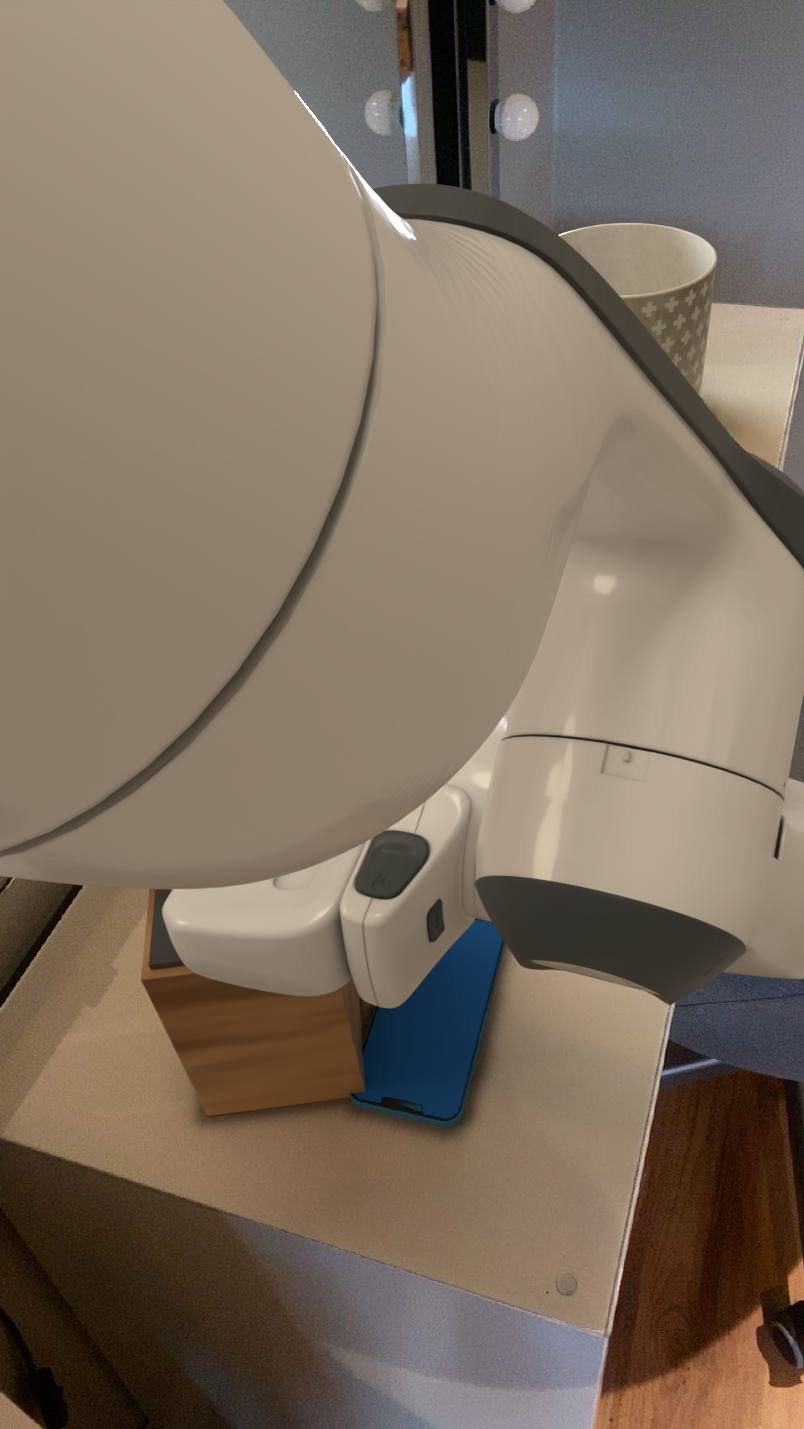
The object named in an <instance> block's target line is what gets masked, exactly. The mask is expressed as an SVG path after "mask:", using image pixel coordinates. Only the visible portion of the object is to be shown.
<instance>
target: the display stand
mask: <svg viewBox="0 0 804 1429" xmlns="http://www.w3.org/2000/svg"><path fill="white" fill-rule="evenodd" d="M172 890H173V889H148V899H147V910H146V911H147V912H146V922H145V931H144V940H143V941H144V942H143V950H142V963H141V974H140V982H141V983H142V985H143V987H144V990H145V991H146V994H147V995H148V997H149V999H150V1002H151V1004H152V1006H153V1007H154V1010H155V1012H156V1014H157V1016H158V1018H159V1020H160V1022H161V1024H162V1026H163V1028H164V1030H165V1033H166V1034H167V1037H168V1038H169V1040H170V1043H171V1045H172V1047H173V1049H174V1051H175V1053H176V1055H177V1057H178V1059H179V1061H180V1063H181V1065H182V1067H183V1069H184V1071H185V1073H186V1075H187V1077H188V1079H189V1082H190V1084H191V1085H192V1088H193V1090H194V1092H195V1094H196V1096H197V1098H198V1100H199V1102H200V1104H201V1106H202V1109H203V1110H204V1112H205V1115H206V1116H207V1117H210V1116H211V1117H212V1116H219V1115H226V1114H235V1113H242V1112H250V1111H258V1110H265V1109H272V1108H280V1107H288V1106H296V1105H302V1104H303V1105H304V1104H310V1103H319V1102H326V1101H327V1102H328V1101H334V1100H343V1099H350V1095H349V1094H351V1093H359V1092H364V1091H365V1078H364V1064H363V1050H362V1043H363V1030H362V1028H363V1027H362V1017H361V1016H362V1015H361V1003H360V996H359V994H358V992H357V990H356V987H355V985H354V982H353V979H351V980H350V981H349V982H348V983H347V984H346V985H344V986H343V987H341V988H340V989H338V990H336V991H334V992H331V993H328V994H325V995H319V996H293V995H286V994H279V993H273V992H267V991H261V990H256V989H251V988H246V987H242V986H237V985H233V984H229V983H225V982H221V981H217V980H214V979H210V978H207V977H204V976H201V975H199V974H196V973H194V972H192V971H191V970H190V969H189V968H187V967H186V965H185V964H184V963H183V962H182V960H181V959H180V957H179V955H178V954H177V952H176V950H175V948H174V946H173V944H172V942H171V939H170V936H169V933H168V931H167V928H166V925H165V922H164V919H163V915H162V909H163V905H164V903H165V901H166V899H167V898H168V896H169V894H170V893H171V891H172Z"/></svg>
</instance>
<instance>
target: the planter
mask: <svg viewBox="0 0 804 1429" xmlns="http://www.w3.org/2000/svg"><path fill="white" fill-rule="evenodd" d="M558 235H559V236H560V237H561V238H562V239H564V240H565V241H566V242H567V243H568V244H569V245H571V246H572V247H573V248H574V249H575V250H576V251H577V252H578V253H579V254H580V255H581V256H582V257H583V258H584V259H586V260H587V261H588V262H589V263H590V264H591V265H592V266H593V267H594V268H595V270H596V271H597V272H598V273H599V274H600V275H601V276H602V277H603V278H604V279H605V280H606V281H607V282H608V283H609V285H610V286H611V287H612V288H613V289H614V290H615V291H616V293H617V294H618V295H619V296H620V297H621V298H622V300H623V301H624V302H625V303H626V304H627V305H628V307H629V308H630V309H631V310H632V311H633V313H634V314H635V315H636V316H637V318H638V319H639V320H640V321H641V322H642V324H643V325H644V326H645V327H646V329H647V330H648V331H649V332H650V334H651V335H652V336H653V337H654V339H655V340H656V341H657V342H658V344H659V345H660V346H661V348H662V349H663V350H664V351H665V353H666V354H667V355H668V356H669V358H670V359H671V360H672V362H673V363H674V364H675V365H676V367H677V368H678V369H679V370H680V372H681V373H682V374H683V376H684V377H685V378H686V379H687V381H688V382H689V383H690V385H691V386H692V387H693V388H694V390H695V391H696V392H697V393H698V395H699V396H700V397H701V395H702V394H701V393H702V386H703V378H704V369H705V362H706V353H707V345H708V337H709V330H710V329H709V328H710V320H711V312H712V305H713V304H712V303H713V296H714V288H715V281H716V272H717V264H718V254H717V251H716V250H715V247H714V246H713V245H712V244H710V242H709V241H707V240H706V239H705V238H703V237H701V236H700V235H697V234H696V233H693V232H691V231H688V230H685V229H681V228H678V227H673V226H668V225H663V224H654V223H646V222H645V223H644V222H643V223H642V222H617V223H616V222H615V223H604V224H596V225H591V226H585V227H579V228H576V229H573V230H570V231H569V230H568V231H566V232H563V233H561V234H558Z"/></svg>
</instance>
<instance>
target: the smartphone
mask: <svg viewBox="0 0 804 1429" xmlns="http://www.w3.org/2000/svg"><path fill="white" fill-rule="evenodd" d="M505 947H506V944H505V942H504V941H503V939H502V938H501V936H500V935H499V933H498V931H497V930H496V928H495V926H494V925H493V923H492V922H489V921H485V920H482V919H477V918H475V920H474V922H473V923H472V924H471V926H470V927H469V928H468V929H467V930H466V931H465V932H464V933H463V934H462V935H461V936H460V937H459V938H458V939H457V940H456V941H455V943H454V944H453V945H452V946H451V947H450V948H449V949H448V950H447V952H446V953H445V954H444V955H443V956H442V957H441V959H440V960H439V961H438V962H437V963H436V965H435V966H434V967H433V968H432V969H431V971H430V972H429V973H428V974H427V976H426V977H425V978H424V979H423V981H422V982H421V983H420V984H419V986H418V987H417V988H416V989H415V991H414V992H413V993H412V994H411V995H410V997H409V998H408V999H407V1000H406V1001H405V1002H404V1003H402V1004H401V1005H400V1006H398V1007H395V1008H383V1007H380V1006H379V1007H378V1006H375V1005H374V1009H373V1011H372V1013H371V1017H370V1020H369V1023H368V1026H367V1029H366V1031H365V1034H364V1037H363V1039H362V1042H363V1043H362V1050H363V1064H364V1078H365V1091H364V1092H359V1093H351V1094H349V1095H350V1098H349V1099H350V1101H351V1102H352V1104H353V1105H355V1106H356V1107H358V1108H360V1109H364V1110H368V1111H374V1112H378V1113H381V1114H386V1115H390V1116H395V1117H398V1118H402V1119H407V1120H411V1121H415V1122H419V1123H424V1124H427V1125H432V1126H437V1127H440V1128H452V1127H454V1126H456V1125H457V1124H459V1122H460V1121H461V1120H462V1119H463V1115H464V1112H465V1107H466V1103H467V1100H468V1095H469V1092H470V1088H471V1083H472V1080H473V1076H474V1073H475V1069H476V1066H477V1060H478V1056H479V1054H480V1050H481V1047H482V1046H481V1045H482V1042H483V1041H482V1040H483V1036H484V1032H485V1027H486V1023H487V1020H488V1015H489V1011H490V1007H491V1003H492V999H493V995H494V991H495V987H496V983H497V979H498V976H499V971H500V967H501V963H502V959H503V955H504V950H505Z"/></svg>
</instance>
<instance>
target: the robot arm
mask: <svg viewBox="0 0 804 1429" xmlns="http://www.w3.org/2000/svg"><path fill="white" fill-rule="evenodd" d="M559 235H560V234H557V233H556V232H555V231H553V230H552V229H551V228H549V227H548V226H547V225H545V224H544V223H543V222H541V221H540V220H538V219H536V218H535V217H534V216H532V215H531V214H529V213H527V212H525V211H524V210H522V209H521V208H518V207H516V206H514V205H512V204H510V203H508V202H506V201H503V200H502V199H499V198H496V197H495V196H492V195H488V194H486V193H483V192H479V191H476V190H472V189H468V188H465V187H464V188H463V187H459V186H455V185H447V184H437V183H401V184H392V185H385V186H378V187H374V188H371V186H369V184H368V183H367V182H366V181H365V179H364V178H363V177H362V175H361V174H360V173H359V171H358V170H356V168H355V166H354V165H353V164H352V163H351V162H350V160H349V158H347V156H346V155H345V154H344V153H343V152H342V150H341V149H340V148H339V147H338V145H337V144H336V143H335V142H334V140H333V139H332V137H331V136H330V135H329V133H328V132H327V130H326V129H325V126H323V125H322V123H321V122H320V121H319V120H318V119H317V117H316V116H315V114H314V113H313V112H312V111H311V109H310V108H309V107H308V106H307V104H306V103H305V102H304V100H303V99H302V98H301V97H300V95H299V94H298V93H297V91H296V89H294V88H293V87H292V85H291V84H290V82H289V81H288V80H287V79H286V77H285V76H284V74H282V73H281V71H280V70H279V68H278V67H277V66H276V64H274V62H273V61H272V60H271V59H270V57H269V56H268V55H267V53H266V52H265V51H264V49H263V48H262V46H261V45H260V44H259V43H258V42H257V41H256V39H255V38H254V37H253V35H252V34H251V33H250V31H248V29H247V28H246V26H245V25H244V24H243V22H242V21H241V20H240V19H239V17H238V16H237V15H236V14H235V13H234V11H233V10H232V9H231V8H230V7H229V6H228V4H227V3H226V2H225V1H224V0H0V877H6V878H14V879H20V880H29V881H36V882H37V881H38V882H46V883H54V884H55V883H56V884H66V885H67V884H68V885H76V886H88V887H101V888H115V889H117V888H118V889H135V890H149V889H173V890H172V891H171V893H170V894H169V896H168V898H167V899H166V901H165V903H164V905H163V909H162V915H163V919H164V922H165V925H166V928H167V931H168V933H169V936H170V939H171V942H172V944H173V946H174V948H175V950H176V952H177V954H178V955H179V957H180V959H181V960H182V962H183V963H184V964H185V965H186V967H187V968H189V969H190V970H191V971H192V972H194V973H196V974H199V975H201V976H204V977H207V978H210V979H214V980H217V981H221V982H225V983H229V984H233V985H237V986H242V987H246V988H251V989H256V990H261V991H267V992H273V993H279V994H286V995H293V996H319V995H325V994H328V993H331V992H334V991H336V990H338V989H340V988H341V987H343V986H344V985H346V984H347V983H348V982H349V981H350V980H351V979H353V982H354V985H355V987H356V990H357V992H358V994H359V999H361V1000H363V1001H364V1002H366V1003H367V1004H370V1005H372V1006H374V1007H375V1006H378V1007H379V1006H380V1007H383V1008H395V1007H398V1006H400V1005H401V1004H402V1003H404V1002H405V1001H406V1000H407V999H408V998H409V997H410V995H411V994H412V993H413V992H414V991H415V989H416V988H417V987H418V986H419V984H420V983H421V982H422V981H423V979H424V978H425V977H426V976H427V974H428V973H429V972H430V971H431V969H432V968H433V967H434V966H435V965H436V963H437V962H438V961H439V960H440V959H441V957H442V956H443V955H444V954H445V953H446V952H447V950H448V949H449V948H450V947H451V946H452V945H453V944H454V943H455V941H456V940H457V939H458V938H459V937H460V936H461V935H462V934H463V933H464V932H465V931H466V930H467V929H468V928H469V927H470V926H471V924H472V923H473V922H474V920H475V918H477V919H482V920H485V921H489V922H492V923H493V925H494V926H495V928H496V930H497V931H498V933H499V935H500V936H501V938H502V939H503V941H504V942H505V946H506V947H507V949H508V950H509V951H510V953H511V955H512V956H513V957H514V959H515V960H516V962H517V964H518V965H519V966H520V967H522V968H524V969H528V970H535V971H536V970H537V971H551V970H552V971H561V972H562V971H563V972H568V973H572V974H576V975H580V976H584V977H587V978H591V979H596V980H599V981H603V982H607V983H610V984H615V985H618V986H622V987H627V988H631V989H635V990H638V991H642V992H646V993H648V994H650V995H652V996H654V997H656V998H657V999H658V1000H660V1001H661V1002H663V1003H664V1004H666V1005H668V1006H672V1005H674V1004H675V1003H677V1002H678V1001H681V1000H682V999H683V998H685V997H687V996H689V995H690V994H692V993H693V992H695V991H697V990H698V989H700V988H701V987H703V986H704V985H706V984H708V983H709V982H710V981H712V980H713V979H715V978H717V977H718V976H720V974H721V973H723V974H725V973H726V974H733V975H742V976H749V977H750V976H752V977H761V978H763V977H764V978H772V979H786V980H788V979H789V980H804V782H802V781H800V780H798V779H797V780H796V779H793V778H790V771H791V766H792V761H793V755H794V749H795V744H796V738H797V733H798V729H799V728H798V727H799V723H800V716H801V711H802V705H803V699H804V490H803V489H802V487H800V486H799V484H797V483H796V482H795V481H794V480H793V479H791V478H790V477H789V476H788V475H786V474H785V472H783V471H782V470H780V469H779V468H778V467H776V466H775V465H773V464H771V463H770V462H769V461H767V460H766V459H763V458H762V457H760V456H758V455H756V454H754V453H753V452H750V451H748V450H746V449H745V448H743V446H741V445H740V444H739V443H738V442H737V441H736V439H735V438H734V437H733V436H732V435H731V434H730V433H729V432H728V430H727V429H726V427H724V425H723V424H722V422H720V420H719V419H718V418H717V416H716V415H715V413H714V412H713V411H712V410H711V409H710V407H709V406H708V405H707V403H706V402H705V400H703V399H702V397H701V395H700V396H699V395H698V393H697V392H696V391H695V390H694V388H693V387H692V386H691V385H690V383H689V382H688V381H687V379H686V378H685V377H684V376H683V374H682V373H681V372H680V370H679V369H678V368H677V367H676V365H675V364H674V363H673V362H672V360H671V359H670V358H669V356H668V355H667V354H666V353H665V351H664V350H663V349H662V348H661V346H660V345H659V344H658V342H657V341H656V340H655V339H654V337H653V336H652V335H651V334H650V332H649V331H648V330H647V329H646V327H645V326H644V325H643V324H642V322H641V321H640V320H639V319H638V318H637V316H636V315H635V314H634V313H633V311H632V310H631V309H630V308H629V307H628V305H627V304H626V303H625V302H624V301H623V300H622V298H621V297H620V296H619V295H618V294H617V293H616V291H615V290H614V289H613V288H612V287H611V286H610V285H609V283H608V282H607V281H606V280H605V279H604V278H603V277H602V276H601V275H600V274H599V273H598V272H597V271H596V270H595V268H594V267H593V266H592V265H591V264H590V263H589V262H588V261H587V260H586V259H584V258H583V257H582V256H581V255H580V254H579V253H578V252H577V251H576V250H575V249H574V248H573V247H572V246H571V245H569V244H568V243H567V242H566V241H565V240H564V239H562V238H561V237H560V236H559Z"/></svg>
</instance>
